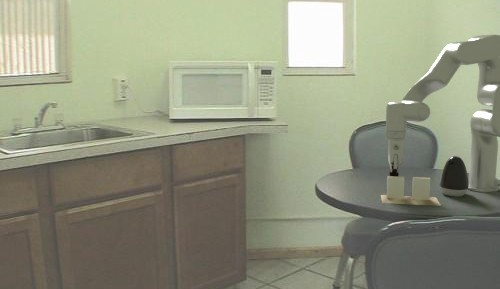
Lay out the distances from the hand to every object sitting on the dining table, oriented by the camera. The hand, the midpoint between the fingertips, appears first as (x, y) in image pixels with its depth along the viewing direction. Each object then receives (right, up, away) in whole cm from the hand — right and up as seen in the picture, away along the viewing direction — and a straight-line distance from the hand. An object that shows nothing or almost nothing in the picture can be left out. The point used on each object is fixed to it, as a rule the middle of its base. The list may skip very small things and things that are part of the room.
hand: (393, 181), depth 194 cm
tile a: (+7, -6, -9) cm, 13 cm away
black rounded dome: (+22, -5, -2) cm, 23 cm away
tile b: (-2, -5, -7) cm, 9 cm away
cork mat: (+3, -6, -10) cm, 12 cm away
